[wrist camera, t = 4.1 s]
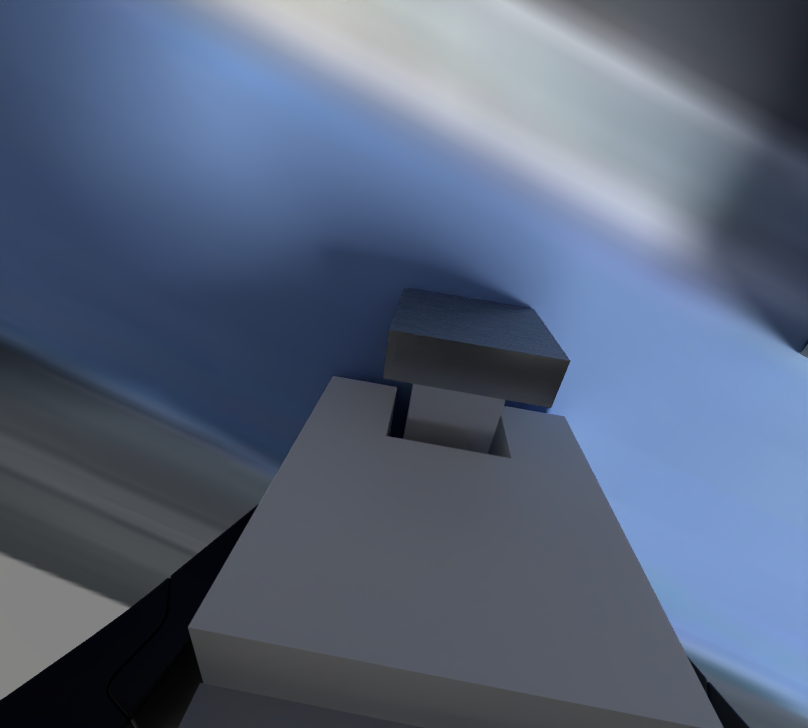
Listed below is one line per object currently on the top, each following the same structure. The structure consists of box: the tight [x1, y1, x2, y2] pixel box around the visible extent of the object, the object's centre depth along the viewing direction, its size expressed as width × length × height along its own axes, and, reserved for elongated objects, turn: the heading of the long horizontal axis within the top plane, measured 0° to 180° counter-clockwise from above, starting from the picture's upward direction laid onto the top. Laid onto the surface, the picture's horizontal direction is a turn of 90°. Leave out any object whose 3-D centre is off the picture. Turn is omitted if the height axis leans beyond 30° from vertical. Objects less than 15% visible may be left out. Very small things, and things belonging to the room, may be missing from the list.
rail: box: [383, 288, 570, 454], centre depth 11 cm, size 17×3×3 cm, turn 172°
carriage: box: [178, 376, 723, 728], centre depth 8 cm, size 5×6×7 cm
